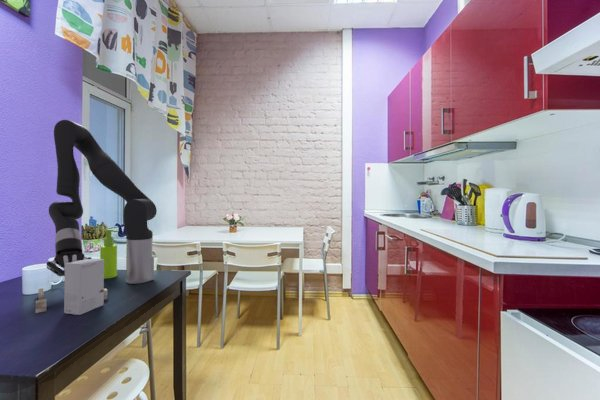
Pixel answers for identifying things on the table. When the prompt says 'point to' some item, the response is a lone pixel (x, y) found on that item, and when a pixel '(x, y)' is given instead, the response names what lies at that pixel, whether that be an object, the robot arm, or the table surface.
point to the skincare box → (83, 286)
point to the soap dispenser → (109, 255)
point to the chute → (42, 303)
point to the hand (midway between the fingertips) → (71, 284)
